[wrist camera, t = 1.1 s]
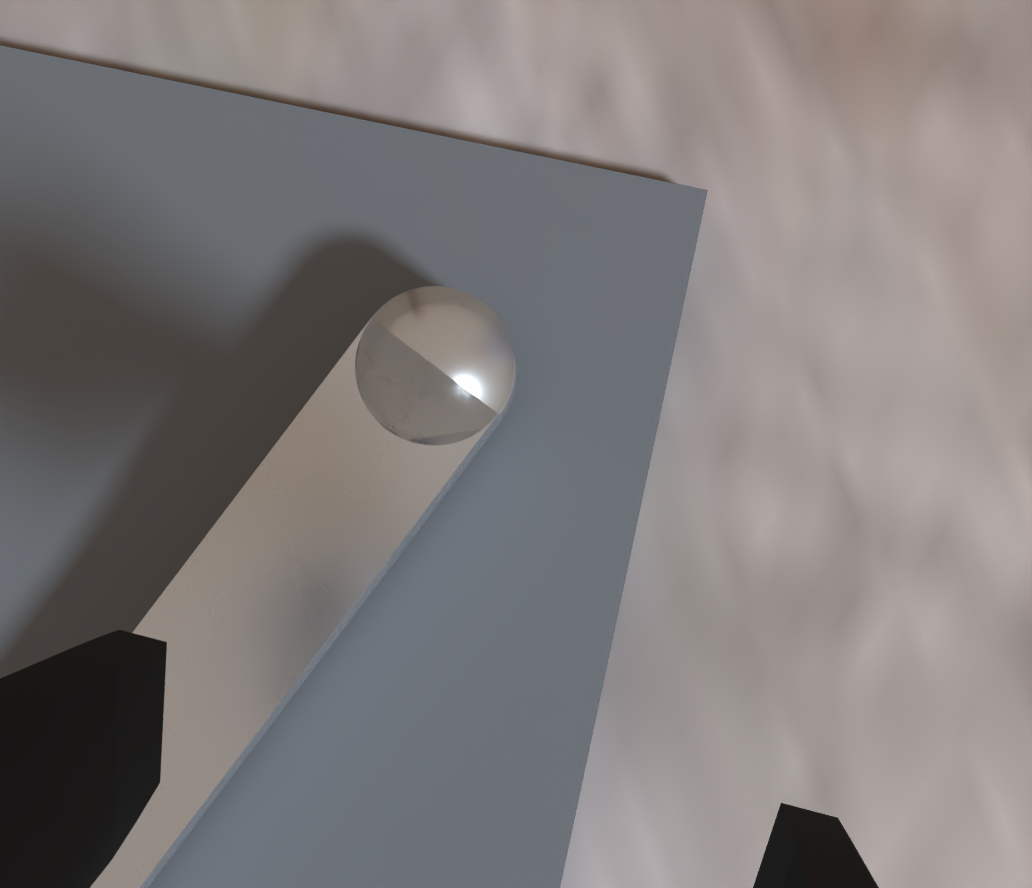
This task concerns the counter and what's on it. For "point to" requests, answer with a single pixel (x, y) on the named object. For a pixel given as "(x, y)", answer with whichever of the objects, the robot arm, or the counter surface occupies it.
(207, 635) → the swing link
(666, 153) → the counter surface
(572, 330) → the mat
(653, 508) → the counter surface
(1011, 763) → the counter surface
